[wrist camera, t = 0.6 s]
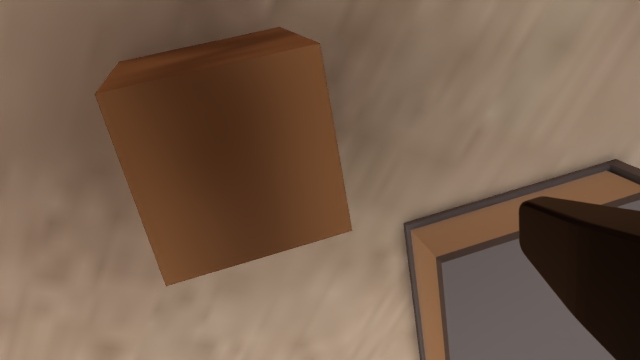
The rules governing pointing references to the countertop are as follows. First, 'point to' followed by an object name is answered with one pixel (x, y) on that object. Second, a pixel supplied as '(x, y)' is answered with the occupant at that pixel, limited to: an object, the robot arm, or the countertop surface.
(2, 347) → the countertop surface
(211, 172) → the walnut cube
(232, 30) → the countertop surface
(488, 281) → the book
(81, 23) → the countertop surface
